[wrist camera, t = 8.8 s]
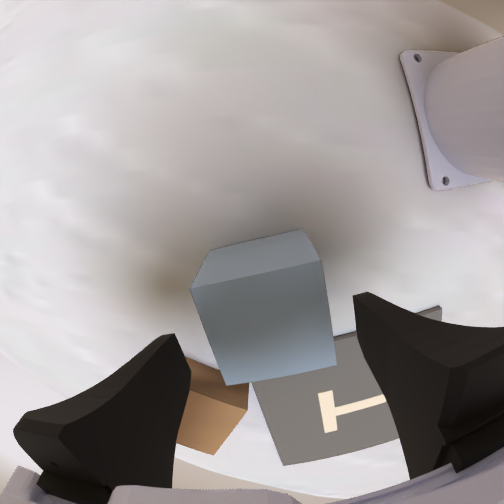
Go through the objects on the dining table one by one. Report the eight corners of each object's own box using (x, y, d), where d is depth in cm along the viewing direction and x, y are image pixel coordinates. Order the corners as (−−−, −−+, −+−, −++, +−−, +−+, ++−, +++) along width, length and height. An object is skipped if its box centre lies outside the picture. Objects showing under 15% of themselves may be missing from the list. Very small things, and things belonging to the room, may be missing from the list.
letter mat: (439, 305, 17) (442, 308, 16) (423, 425, 20) (424, 428, 20) (244, 356, 18) (243, 360, 18) (283, 462, 22) (283, 465, 21)
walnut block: (249, 378, 19) (247, 410, 16) (218, 426, 21) (213, 455, 18) (164, 344, 18) (150, 373, 15) (145, 398, 20) (133, 425, 17)
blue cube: (303, 228, 16) (321, 259, 11) (318, 311, 17) (336, 364, 12) (210, 249, 16) (189, 288, 11) (234, 328, 17) (226, 385, 13)
